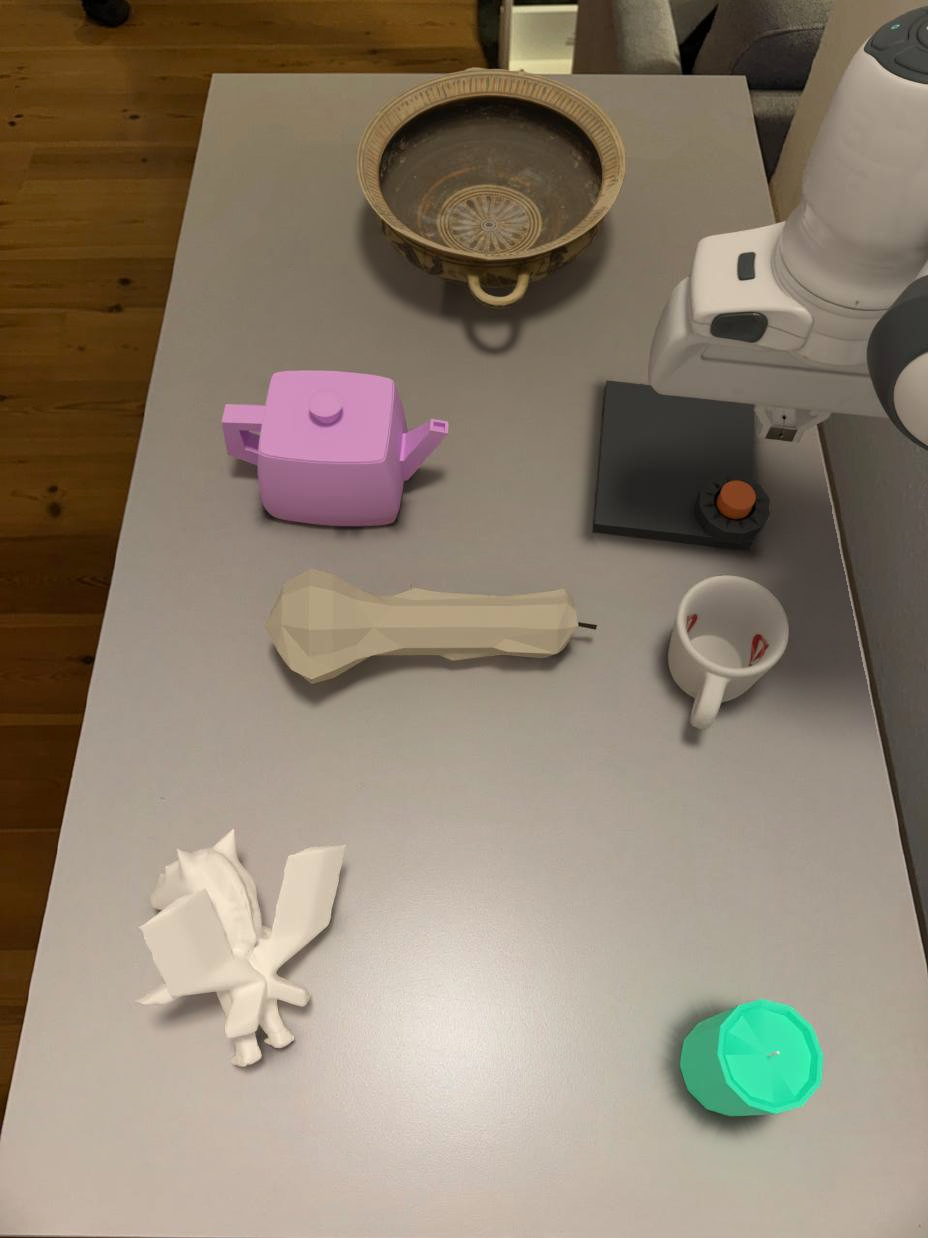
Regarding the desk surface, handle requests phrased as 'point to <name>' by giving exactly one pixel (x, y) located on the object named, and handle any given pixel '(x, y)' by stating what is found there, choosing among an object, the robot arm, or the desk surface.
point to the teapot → (330, 447)
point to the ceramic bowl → (491, 177)
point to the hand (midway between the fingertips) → (777, 432)
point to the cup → (724, 641)
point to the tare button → (736, 499)
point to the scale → (674, 467)
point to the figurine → (237, 936)
